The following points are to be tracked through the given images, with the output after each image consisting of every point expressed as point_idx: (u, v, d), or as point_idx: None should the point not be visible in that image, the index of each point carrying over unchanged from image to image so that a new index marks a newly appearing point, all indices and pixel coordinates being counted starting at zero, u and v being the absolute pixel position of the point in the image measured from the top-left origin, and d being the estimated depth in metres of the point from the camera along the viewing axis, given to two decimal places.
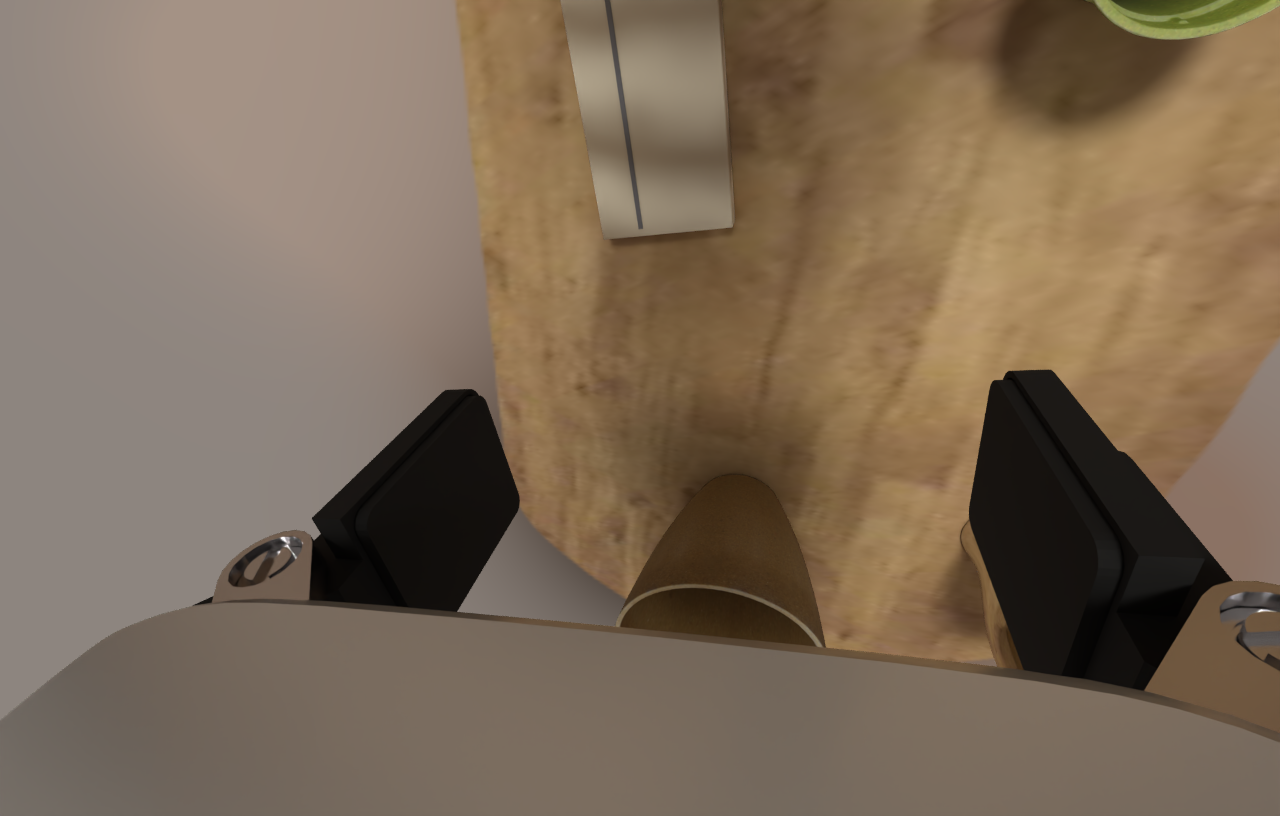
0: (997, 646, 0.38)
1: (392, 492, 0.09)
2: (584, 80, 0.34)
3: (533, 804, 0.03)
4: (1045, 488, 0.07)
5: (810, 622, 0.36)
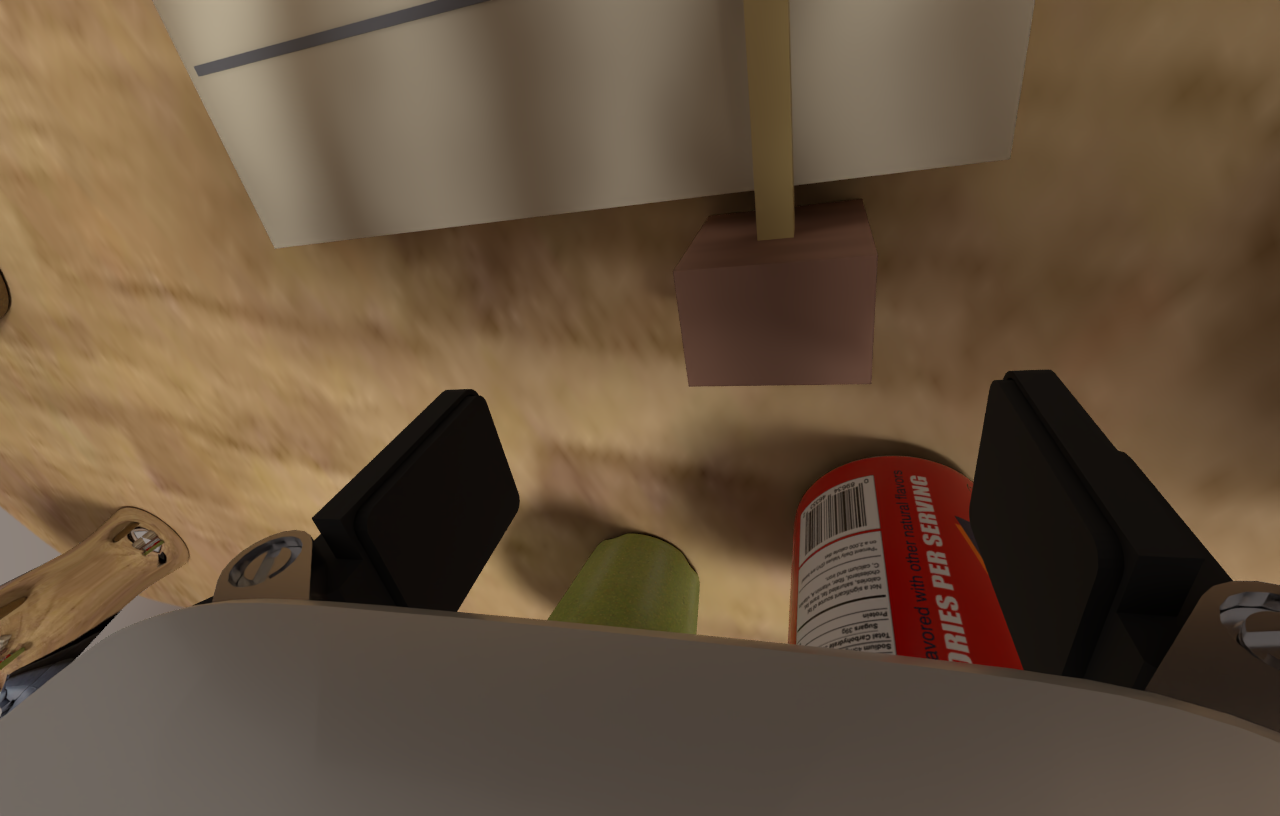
0: None
1: (392, 492, 0.09)
2: None
3: (533, 805, 0.03)
4: (1045, 488, 0.07)
5: None
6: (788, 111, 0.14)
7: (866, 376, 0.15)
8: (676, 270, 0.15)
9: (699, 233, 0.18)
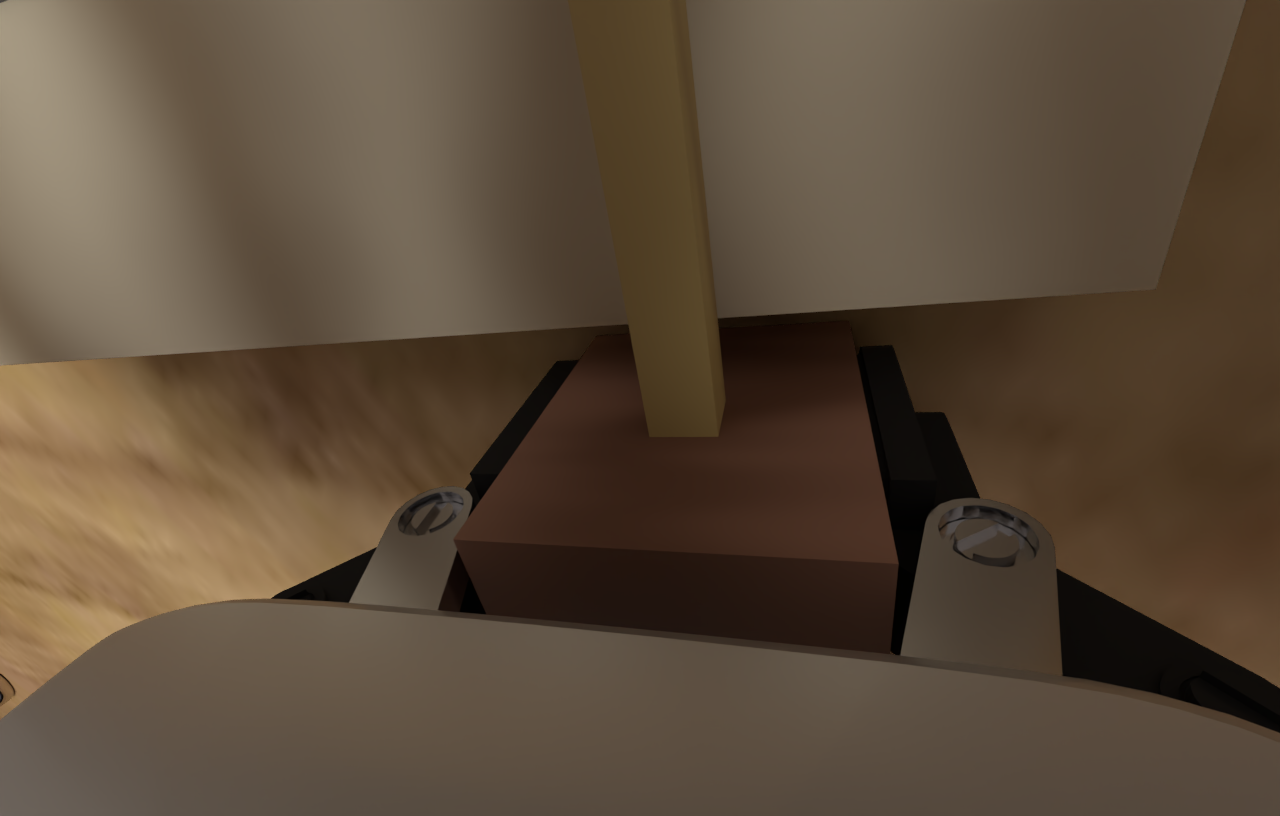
0: None
1: None
2: None
3: (533, 805, 0.03)
4: None
5: None
6: (688, 202, 0.06)
7: None
8: (461, 535, 0.07)
9: (560, 391, 0.10)
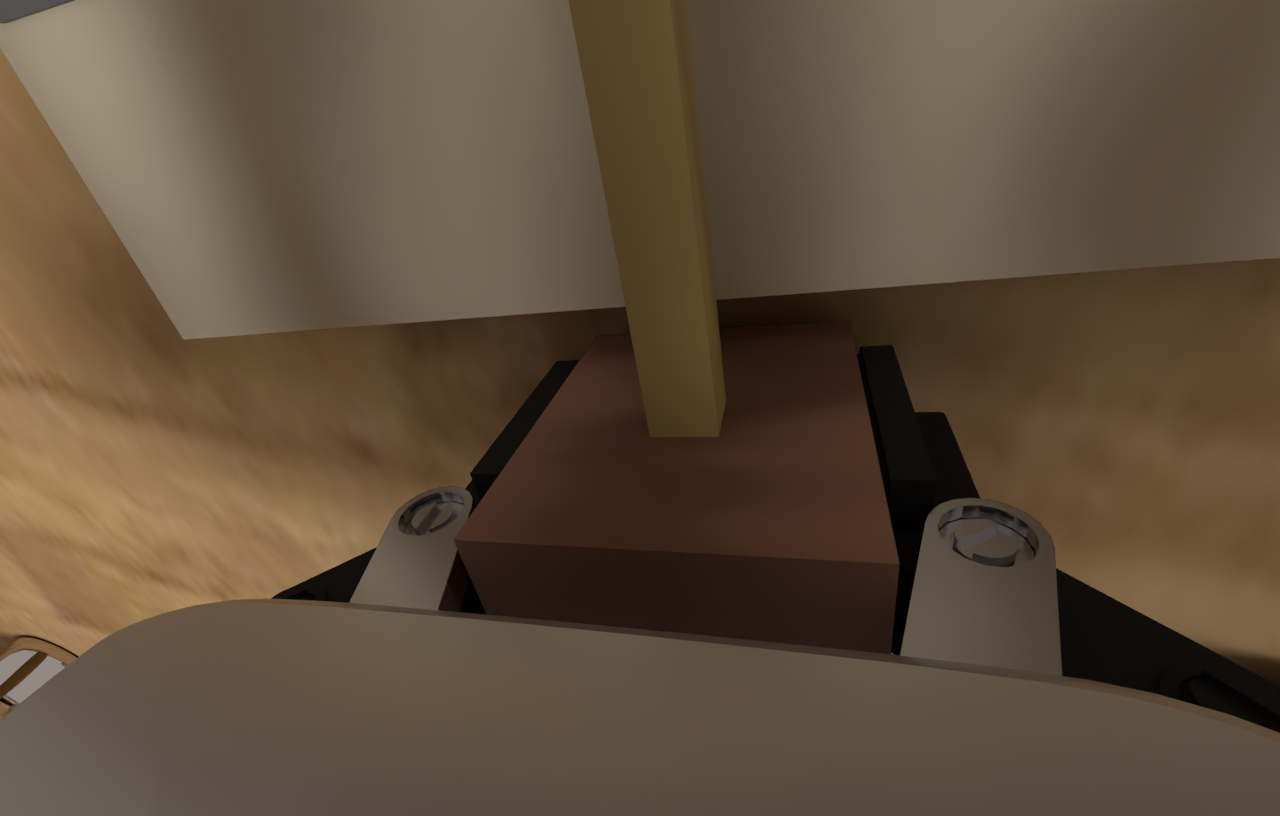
0: None
1: None
2: None
3: (533, 805, 0.03)
4: None
5: None
6: (688, 202, 0.06)
7: None
8: (462, 535, 0.07)
9: (561, 391, 0.10)
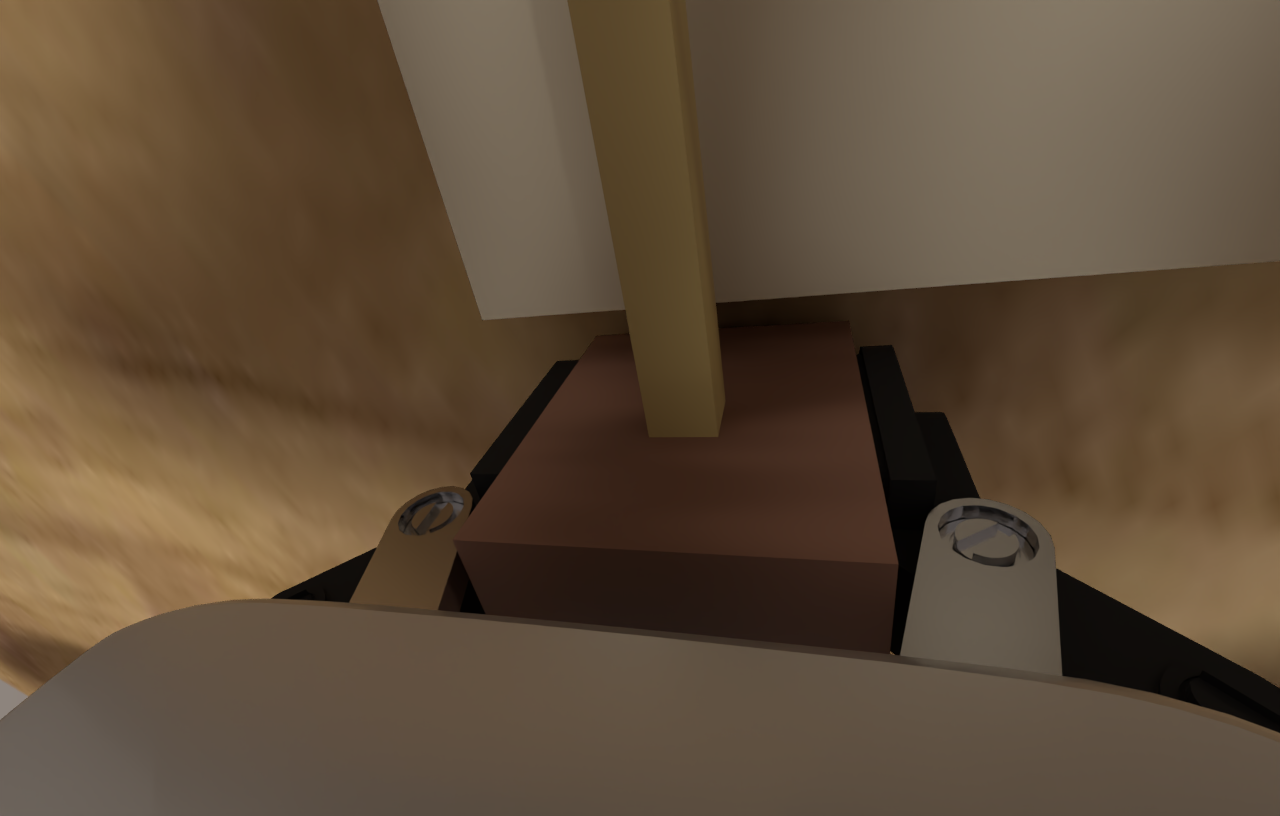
0: None
1: None
2: None
3: (533, 804, 0.03)
4: None
5: None
6: (687, 202, 0.06)
7: None
8: (460, 535, 0.07)
9: (560, 391, 0.10)
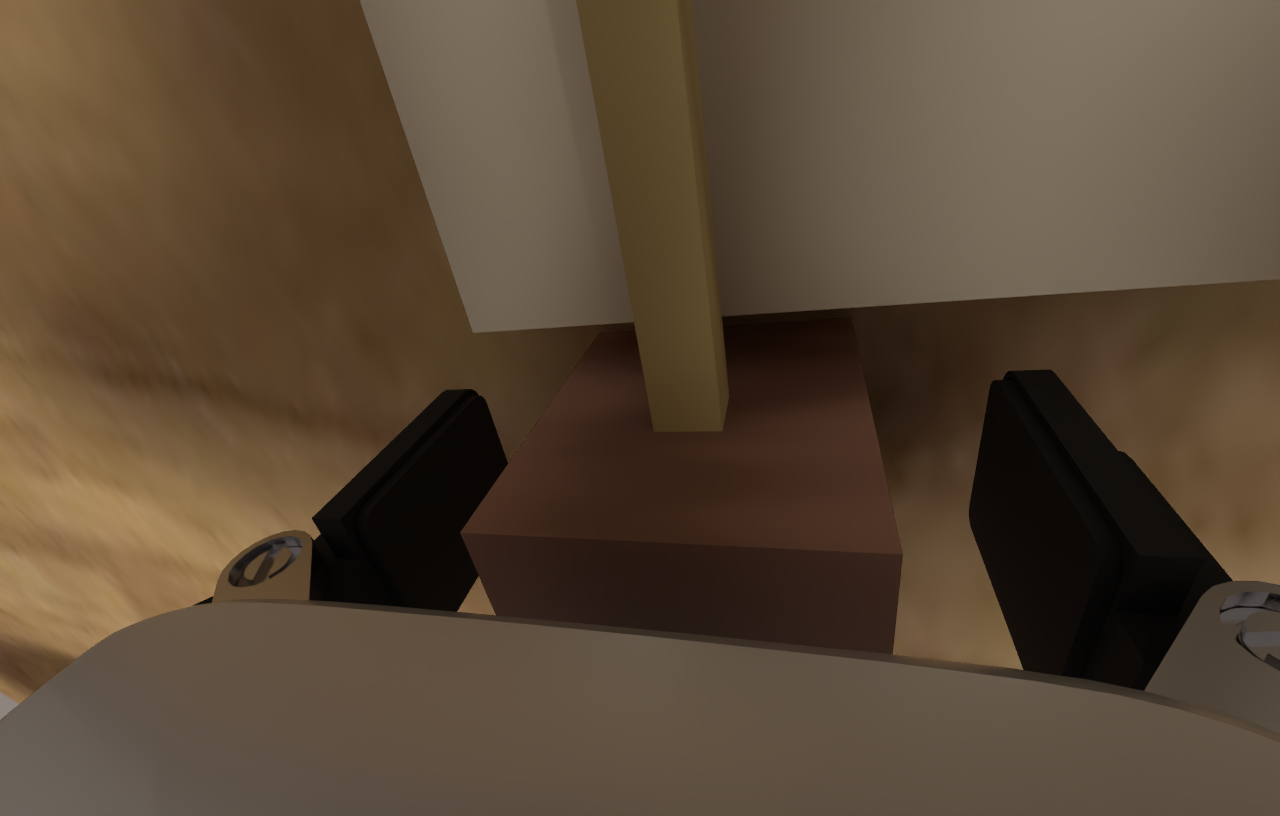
0: None
1: (392, 492, 0.09)
2: None
3: (533, 804, 0.03)
4: (1045, 488, 0.07)
5: None
6: (693, 197, 0.06)
7: None
8: (468, 528, 0.07)
9: (564, 387, 0.10)
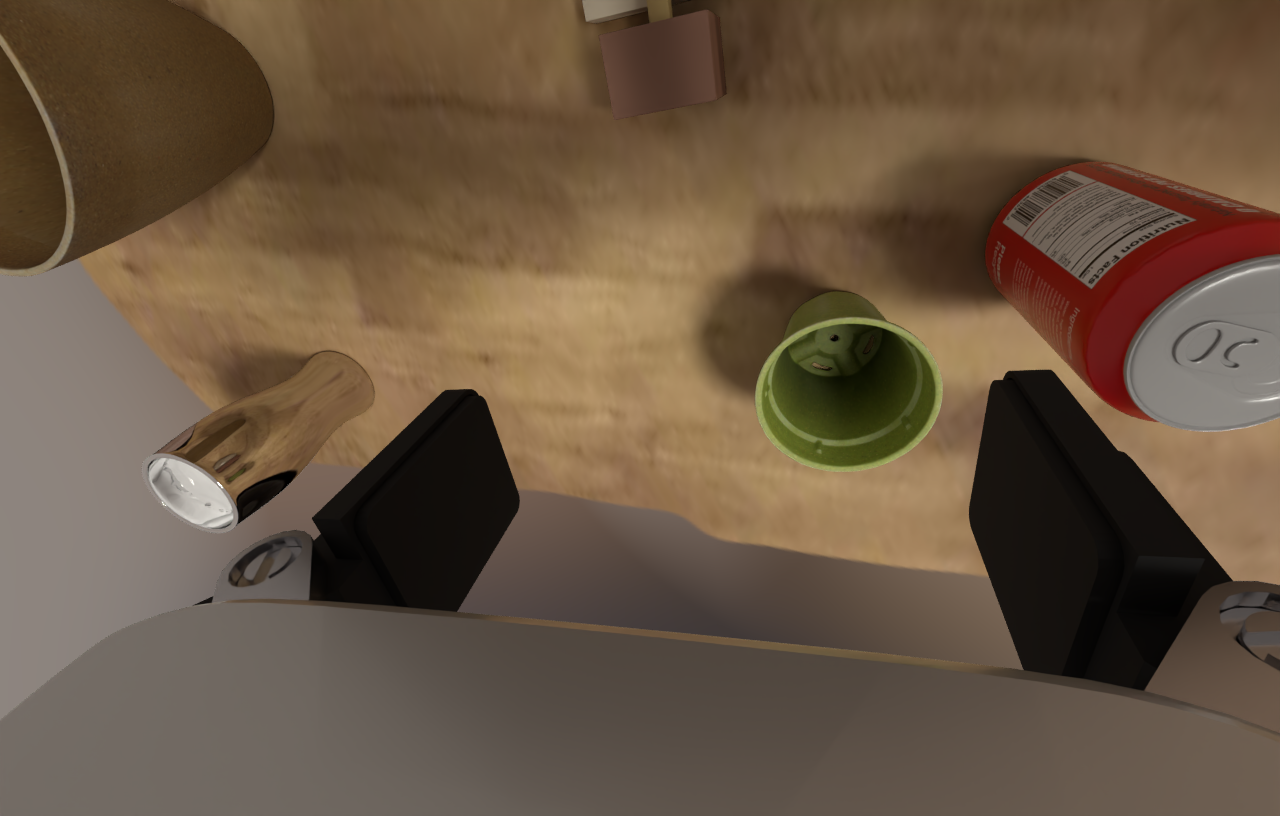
0: (211, 421, 0.36)
1: (392, 492, 0.09)
2: None
3: (533, 804, 0.03)
4: (1045, 488, 0.07)
5: (84, 237, 0.26)
6: None
7: (713, 95, 0.26)
8: (600, 35, 0.25)
9: None
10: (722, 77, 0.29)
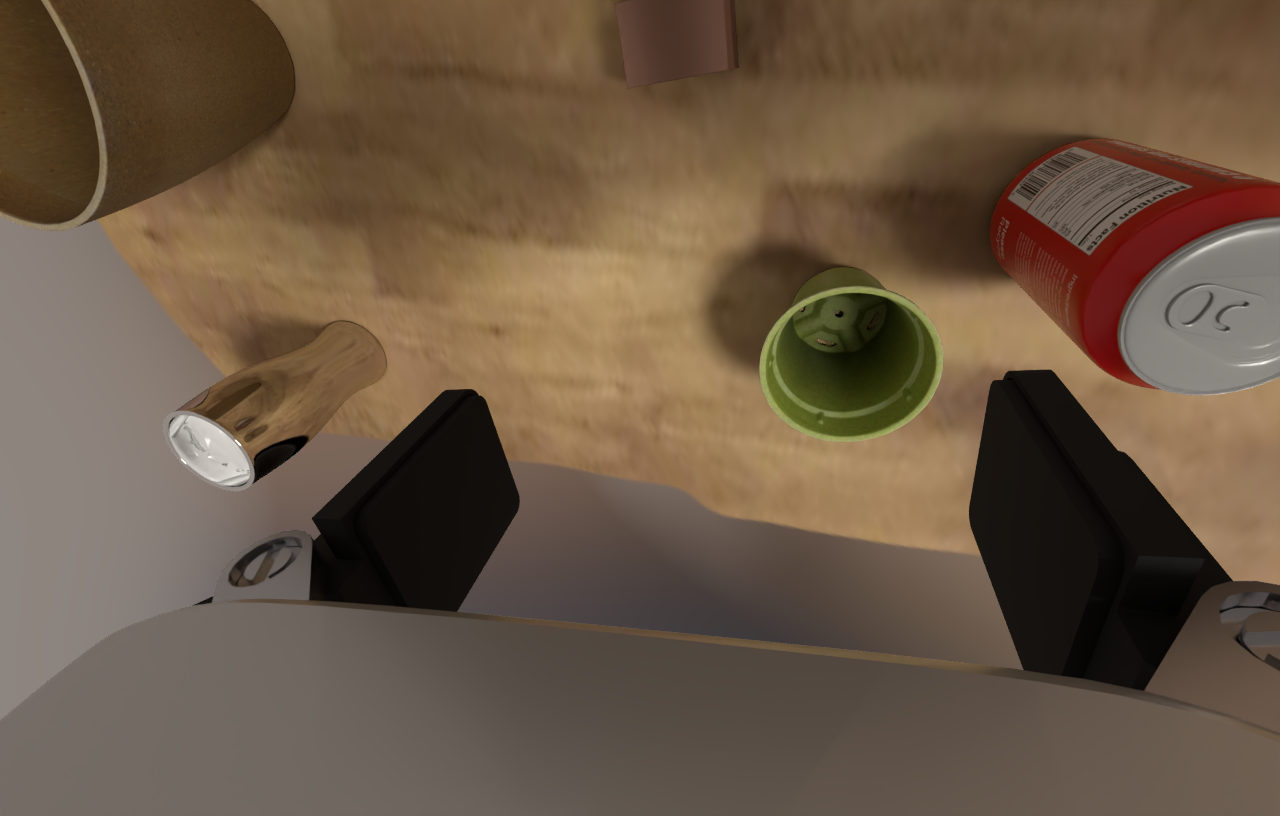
0: (230, 382, 0.38)
1: (392, 492, 0.09)
2: None
3: (533, 804, 0.03)
4: (1045, 488, 0.07)
5: (115, 193, 0.27)
6: None
7: (724, 65, 0.26)
8: (616, 3, 0.26)
9: None
10: (734, 50, 0.30)
